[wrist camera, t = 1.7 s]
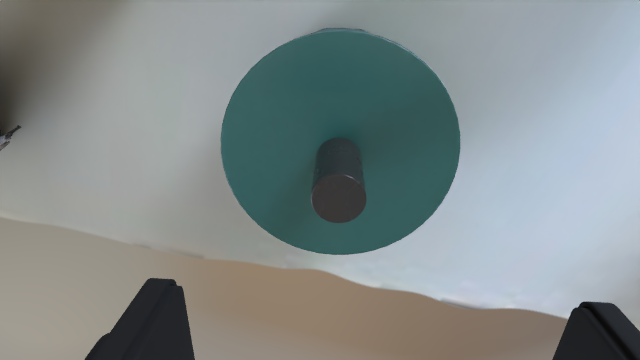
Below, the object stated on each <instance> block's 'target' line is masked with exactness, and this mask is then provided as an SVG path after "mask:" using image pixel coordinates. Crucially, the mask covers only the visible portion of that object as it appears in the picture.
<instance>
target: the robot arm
mask: <svg viewBox="0 0 640 360" xmlns="http://www.w3.org/2000/svg"><path fill="white" fill-rule="evenodd" d="M85 360H195V358H194V352H193V347H192V341H191V335H190V328H189V322H188V316H187V310H186V305H185V298H184V292H183V288H182V287H181V286H177V285H176V282H175V280H173V279H158V278H150V279H148V280H147V281H146V282H145V284H144V285H143V286H142V288H141V289H140V291H139V292H138V293H137V295H136V296H135V298H134V299H133V301H132V302H131V303H130V305H129V306H128V308H127V309H126V311H125V312H124V313H123V315H122V316H121V318H120V319H119V320H118V322H117V323H116V325H115V326H114V328H113V329H112V330H111V332H110V333H107V334H106V335H104V336H102V337H101V338H100V339H99V341H98V342H97V343H96V344H95V346H94V347H93V349H92V350H91V351H90V353H89V354H88V355H87V357H86V358H85ZM553 360H640V331H639V330H638V329H637V328H636V327H635V326H634V325H633V324H632V323H631V321H630V320H629V319H628V318H627V317H626V316H625V315H624V314H623V313H622V312H621V310H620V309H619V308H618V307H617V306H615V305H614V304H612V303H602V302H582V303H581V304H580V305H579V307H578V308H574V309H573V310H572V312H571V315H570V317H569V320H568V323H567V325H566V327H565V330H564V332H563V335H562V337H561V340H560V342H559V345H558V347H557V350H556V352H555V355H554V357H553Z"/></svg>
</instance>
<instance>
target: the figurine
mask: <svg viewBox="0 0 640 360" xmlns="http://www.w3.org/2000/svg"><path fill="white" fill-rule="evenodd" d="M19 128H21V126H19V125H18V126H17V128H15V129H13V130H12V131H10V132H8V133H7V134H5V135H4V136H2V133H1V130H0V150H2V149H3V148H4V147H5V146H7V145H8V144H9V143H10V141H8V140H9V139H11V136H12V134H13V133H14V132H15V131H16V130H18V129H19ZM7 141H8V142H7Z"/></svg>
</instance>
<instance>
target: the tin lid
mask: <svg viewBox="0 0 640 360" xmlns="http://www.w3.org/2000/svg"><path fill="white" fill-rule="evenodd" d="M459 154H460V130H459V124H458V118H457V115H456V112H455V108H454V105H453V103H452V101H451V98H450V96H449V94H448V92H447V90H446V88H445V87H444V86H443V84H442V83H441V81H440V80H439V78H438V77H437V75H436V74H435V73H434V72H433V71H432V70H431V69H430V68H429V67H428V66H427V65H426V64H425V63H424V62H423V61H422V60H421V59H419V58H418V57H417V56H416V55H414V54H413V53H412V52H410V51H409V50H407V49H405V48H404V47H402V46H400V45H399V44H397V43H395V42H392V41H390V40H388V39H385V38H383V37H380V36H376V35H372V34H368V33H364V32H357V31H348V30H338V31H324V32H319V33H313V34H309V35H306V36H303V37H300V38H297V39H294V40H292V41H290V42H288V43H286V44H283V45H281V46H279V47H278V48H276V49H275V50H273V51H272V52H270V53H269V54H267V55H266V56H265V57H263V58H262V59H261V60H260V61H259V62H258V63H257V64H256V65H255V66H253V67H252V68H251V69H250V71H249V72H248V73H247V74H246V75H245V77H244V78H243V79H242V80H241V82H240V83H239V85H238V86H237V88H236V90H235V91H234V93H233V95H232V97H231V99H230V102H229V104H228V106H227V109H226V112H225V116H224V120H223V124H222V132H221V155H222V162H223V167H224V171H225V174H226V177H227V181H228V183H229V185H230V187H231V189H232V192H233V194H234V195H235V197H236V199H237V200H238V202H239V203H240V205H241V206H242V207H243V209H244V210H245V211H246V212H247V214H248V215H249V216H250V217H251V218H252V219H253V220H254V221H255V222H256V223H257V224H258V225H259V226H261V227H262V228H263V229H264V230H266V231H267V232H268V233H270V234H271V235H273V236H275V237H276V238H278V239H280V240H281V241H284V242H286V243H288V244H290V245H292V246H295V247H298V248H301V249H304V250H307V251H312V252H316V253H323V254H332V255H348V254H357V253H364V252H368V251H373V250H376V249H379V248H382V247H385V246H388V245H390V244H392V243H394V242H396V241H399V240H400V239H402V238H404V237H405V236H407V235H409V234H410V233H412V232H413V231H414V230H416V229H417V228H418V227H420V226H421V225H422V224H423V223H424V222H425V221H426V220H427V219H428V218H429V217H430V216H431V215H432V214H433V213H434V212H435V210H436V209H437V208H438V207H439V205H440V204H441V203H442V201H443V199H444V198H445V196H446V194H447V193H448V191H449V189H450V186H451V184H452V182H453V179H454V177H455V173H456V170H457V166H458V161H459Z"/></svg>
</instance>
